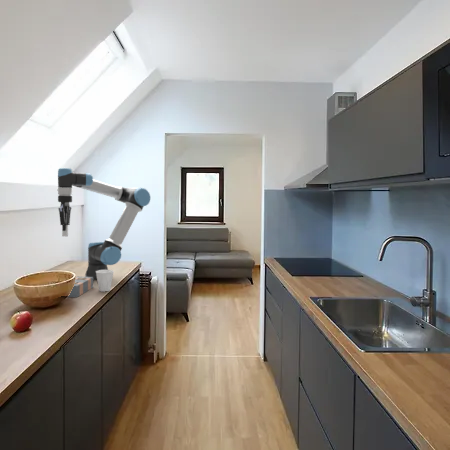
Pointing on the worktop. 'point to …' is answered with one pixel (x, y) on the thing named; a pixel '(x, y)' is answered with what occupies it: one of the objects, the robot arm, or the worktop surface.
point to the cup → (104, 279)
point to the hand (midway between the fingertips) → (65, 236)
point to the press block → (81, 286)
